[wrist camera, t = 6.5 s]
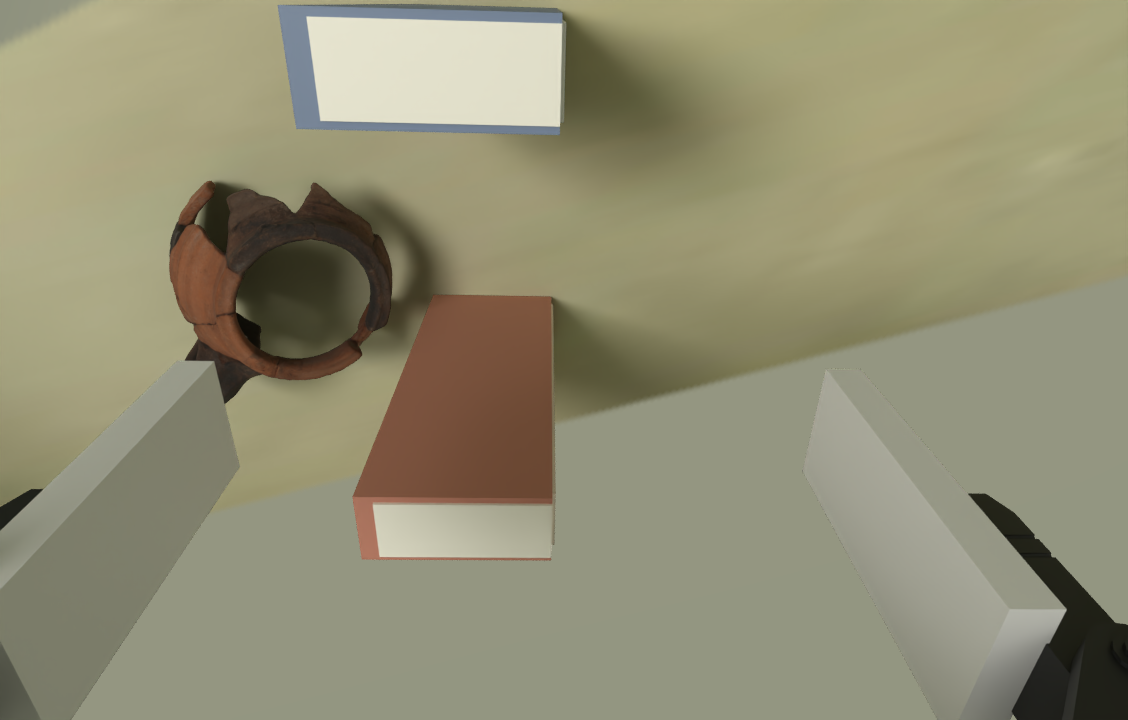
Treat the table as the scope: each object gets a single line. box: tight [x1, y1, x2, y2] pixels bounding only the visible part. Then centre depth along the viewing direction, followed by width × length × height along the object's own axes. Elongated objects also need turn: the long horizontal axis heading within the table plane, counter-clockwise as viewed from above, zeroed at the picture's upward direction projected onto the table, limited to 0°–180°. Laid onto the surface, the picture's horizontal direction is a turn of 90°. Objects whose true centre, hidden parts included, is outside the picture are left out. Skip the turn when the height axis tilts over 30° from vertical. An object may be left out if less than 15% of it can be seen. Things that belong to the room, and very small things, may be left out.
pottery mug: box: [169, 181, 392, 404], centre depth 32 cm, size 12×9×8 cm
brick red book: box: [353, 295, 556, 560], centre depth 28 cm, size 6×2×16 cm, turn 89°
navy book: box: [278, 4, 566, 135], centre depth 22 cm, size 6×2×16 cm, turn 89°
